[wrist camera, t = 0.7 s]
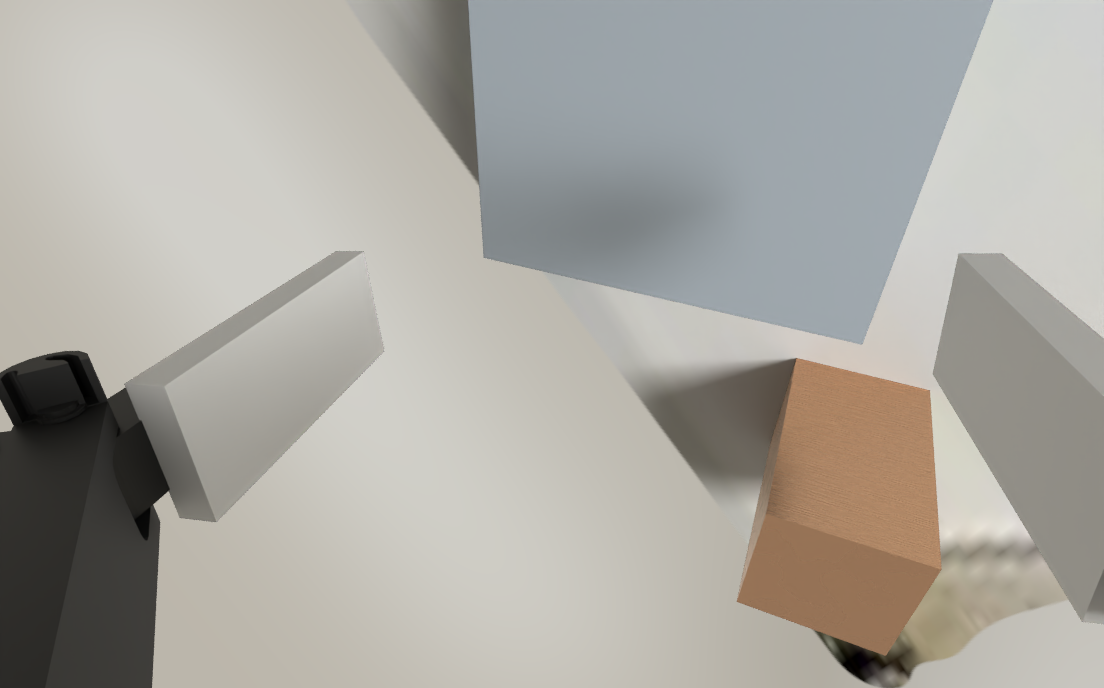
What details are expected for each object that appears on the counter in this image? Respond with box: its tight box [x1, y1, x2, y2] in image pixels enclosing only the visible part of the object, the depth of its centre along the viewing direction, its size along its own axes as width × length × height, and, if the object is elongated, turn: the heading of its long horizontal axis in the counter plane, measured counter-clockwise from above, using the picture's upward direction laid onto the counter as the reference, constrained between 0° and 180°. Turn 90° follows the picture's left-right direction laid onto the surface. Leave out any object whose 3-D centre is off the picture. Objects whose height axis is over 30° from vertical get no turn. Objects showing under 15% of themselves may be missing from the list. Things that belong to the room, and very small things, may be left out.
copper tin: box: [737, 358, 941, 656], centre depth 34 cm, size 7×7×12 cm
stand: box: [468, 0, 993, 344], centre depth 26 cm, size 16×16×10 cm
